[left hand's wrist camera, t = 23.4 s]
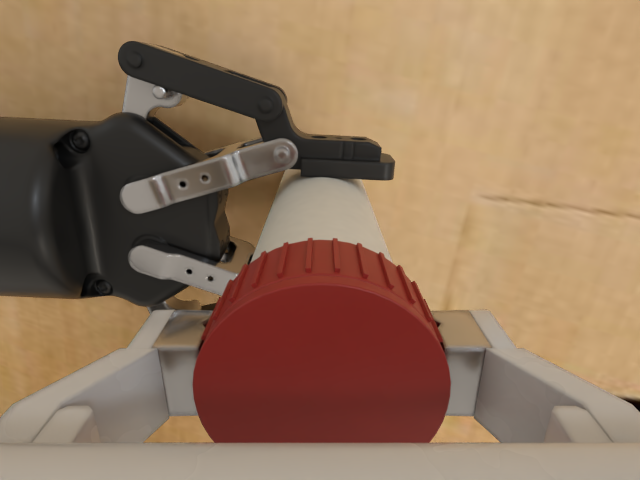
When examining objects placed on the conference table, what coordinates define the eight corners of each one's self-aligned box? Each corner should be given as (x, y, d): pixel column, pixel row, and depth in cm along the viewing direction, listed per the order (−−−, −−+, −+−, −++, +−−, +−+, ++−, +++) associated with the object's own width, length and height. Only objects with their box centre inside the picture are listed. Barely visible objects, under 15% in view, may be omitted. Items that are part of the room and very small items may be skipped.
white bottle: (354, 227, 25) (402, 452, 10) (278, 218, 25) (215, 434, 10) (366, 151, 23) (445, 288, 8) (285, 141, 23) (222, 263, 8)
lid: (341, 446, 12) (345, 524, 10) (174, 353, 11) (140, 418, 9) (474, 316, 10) (512, 376, 8) (295, 189, 9) (287, 222, 7)
